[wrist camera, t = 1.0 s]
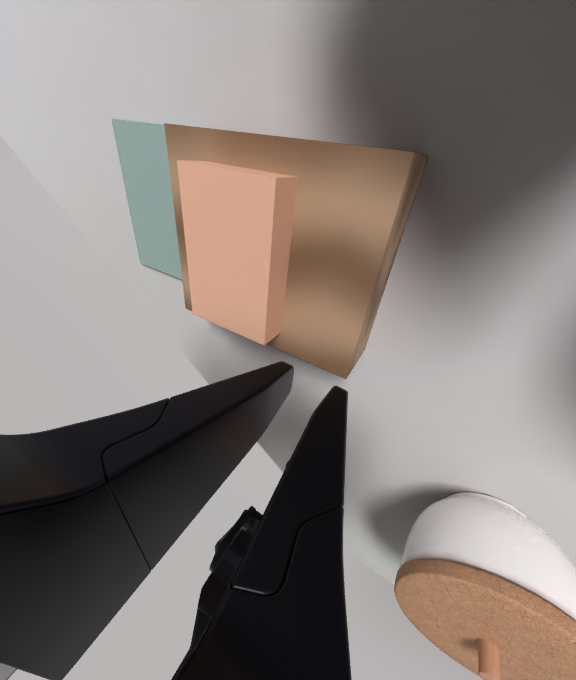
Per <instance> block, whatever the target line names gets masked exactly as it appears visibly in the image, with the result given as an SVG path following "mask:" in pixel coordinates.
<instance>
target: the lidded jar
mask: <svg viewBox="0 0 576 680" xmlns="http://www.w3.org/2000/svg"><path fill="white" fill-rule="evenodd" d="M394 591H395V595H396V599H397V601H398V604H399V606H400V608H401V609H402V611H403V613H404V614H405V615H406V617H407V618H408V619H409V620H410V622H411V623H412V624H413V625H414V626H415V627H416V628H417V629H418V630H419V631H420V632H421V633H422V634H423V635H424V636H425V637H426V638H427V639H428V640H430V641H431V642H432V643H433V644H434V645H435V646H437V647H438V648H439V649H440V650H441V651H443V652H444V653H446V654H447V655H448V656H450V657H451V658H452V659H454V660H455V661H457V662H458V663H459V664H461V665H462V666H464V667H465V668H467V669H468V670H470V671H472V672H473V673H475V674H477V675H478V676H480V677H481V678H482V679H483V680H576V569H575V567H574V566H573V564H572V563H571V561H570V560H569V559H568V557H567V556H566V554H565V553H564V552H563V550H562V549H561V548H560V547H559V546H558V545H557V544H556V543H555V542H554V541H553V540H552V539H551V538H550V537H549V535H548V534H546V533H545V532H544V531H543V530H542V529H540V528H539V527H538V526H537V525H535V524H534V523H533V522H532V521H531V520H530V519H529V518H528V517H527V516H526V515H525V514H524V513H522V512H521V511H520V510H519V509H517V508H516V507H514V506H513V505H511V504H509V503H507V502H505V501H503V500H500V499H498V498H495V497H492V496H489V495H485V494H481V493H475V492H459V493H454V494H452V495H449V496H448V497H446V498H445V499H442V500H439V501H437V502H435V503H433V504H431V505H430V506H428V507H427V508H426V509H425V510H424V511H423V512H422V513H421V514H420V515H419V516H418V518H417V519H416V520H415V522H414V524H413V526H412V528H411V530H410V533H409V535H408V538H407V540H406V543H405V547H404V551H403V555H402V560H401V565H400V568H399V570H398V572H397V575H396V580H395V588H394Z"/></svg>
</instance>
